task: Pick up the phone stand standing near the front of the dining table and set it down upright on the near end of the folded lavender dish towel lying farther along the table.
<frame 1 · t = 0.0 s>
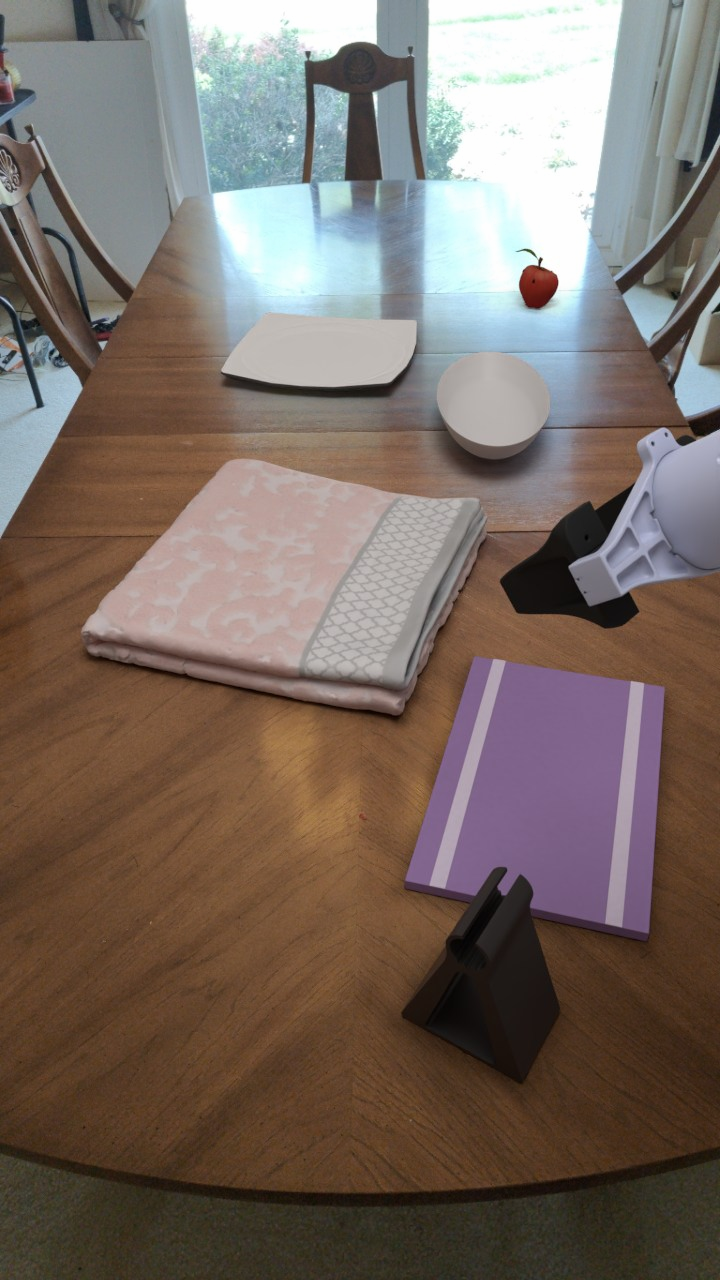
hand: (554, 563, 52), 32 cm above the table, tool tilted 50°, fingers open, 7 cm apart
plate: (324, 362, 157), on the table
apple: (533, 307, 175), on the table
phone stand: (480, 1015, 67), on the table
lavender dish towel: (547, 781, 83), on the table
towel: (301, 591, 107), on the table
bowl: (489, 437, 135), on the table
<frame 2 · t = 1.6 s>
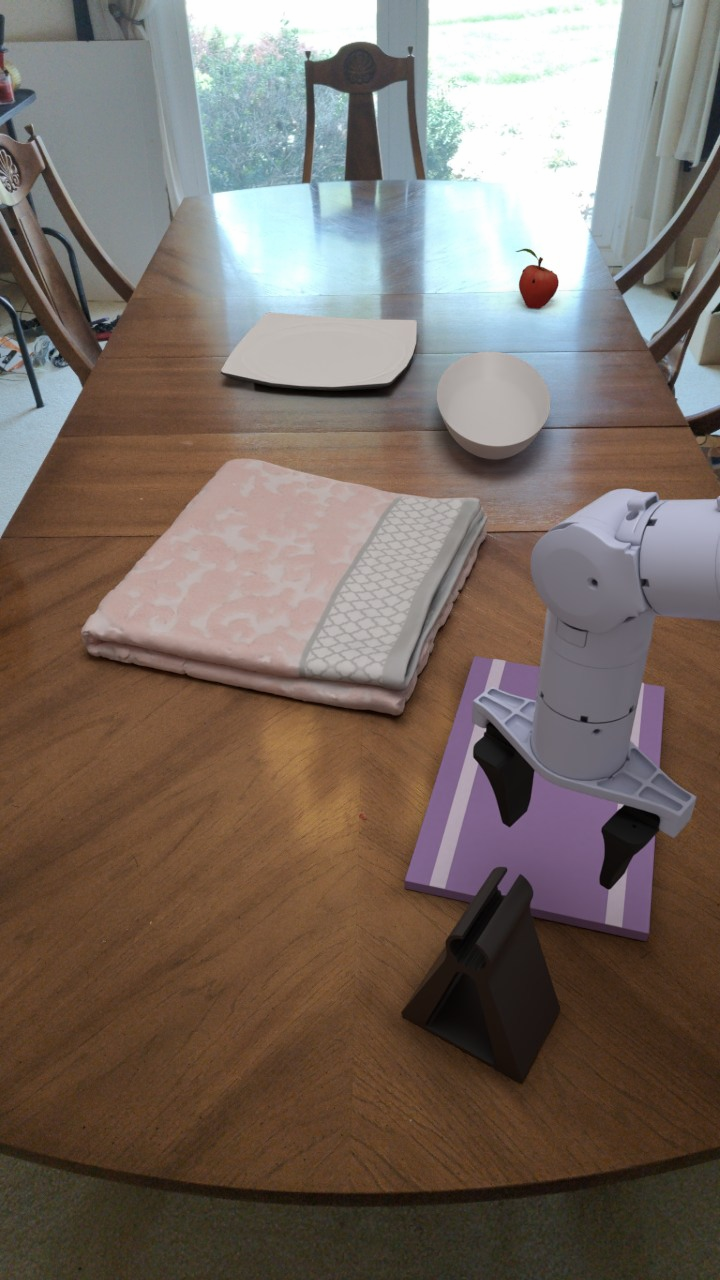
hand: (562, 846, 65), 10 cm above the table, tool pointing down, fingers open, 7 cm apart
nothing on the table moved.
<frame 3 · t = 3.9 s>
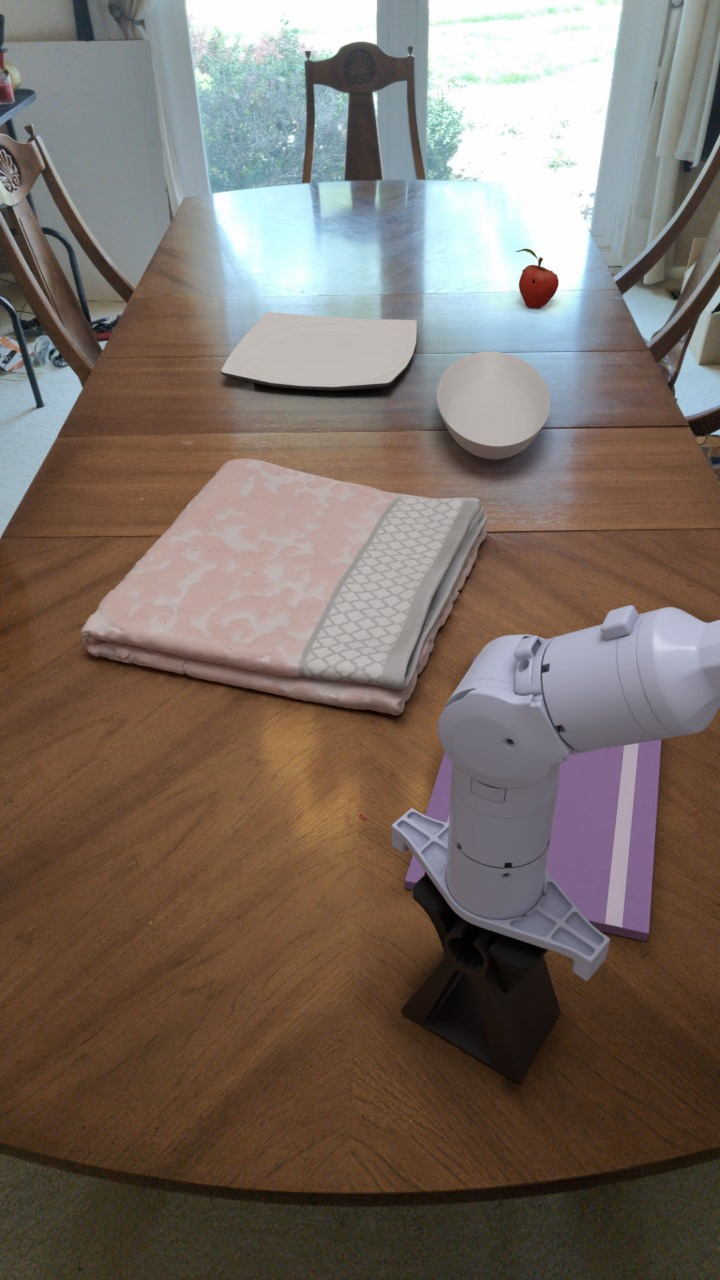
hand: (485, 969, 63), 5 cm above the table, tool pointing down, fingers closed on phone stand, 3 cm apart
phone stand: (479, 1015, 67), on the table, touching gripper
everything else where it was.
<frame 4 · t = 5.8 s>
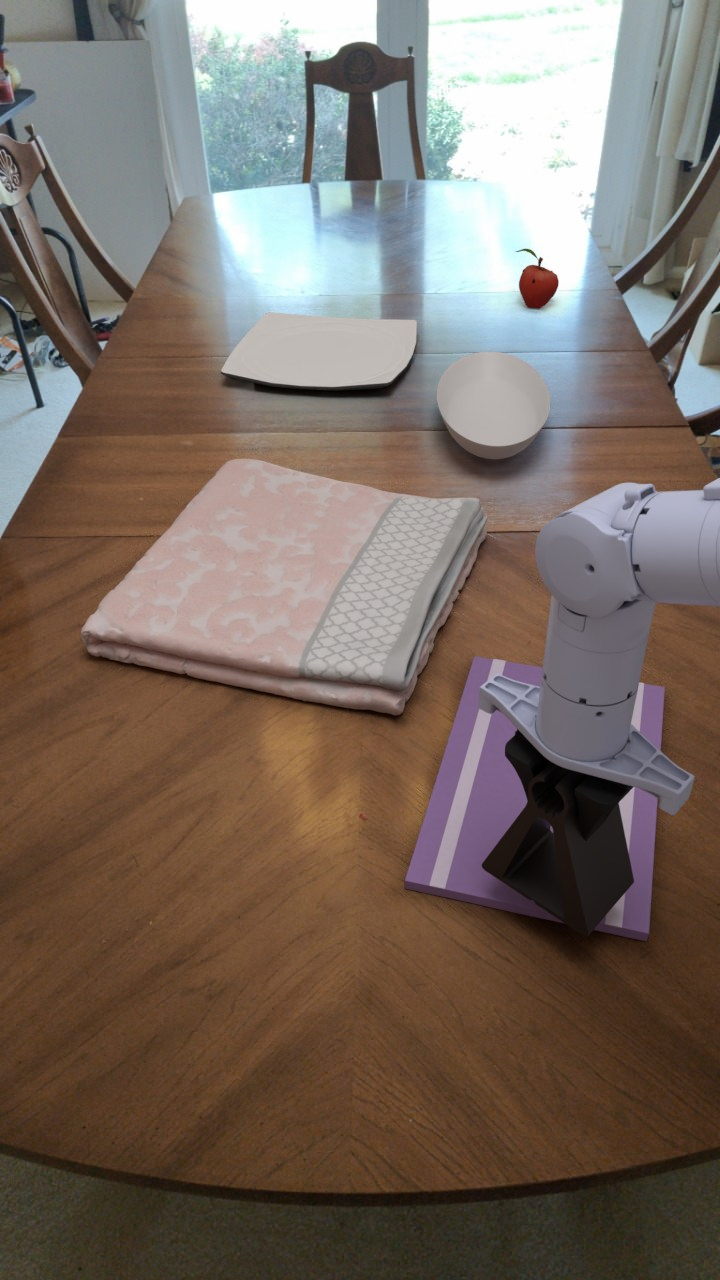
hand: (565, 827, 67), 9 cm above the table, tool pointing down, fingers closed on phone stand, 3 cm apart
phone stand: (556, 878, 71), point 4 cm above the table, touching gripper
everything else where it was.
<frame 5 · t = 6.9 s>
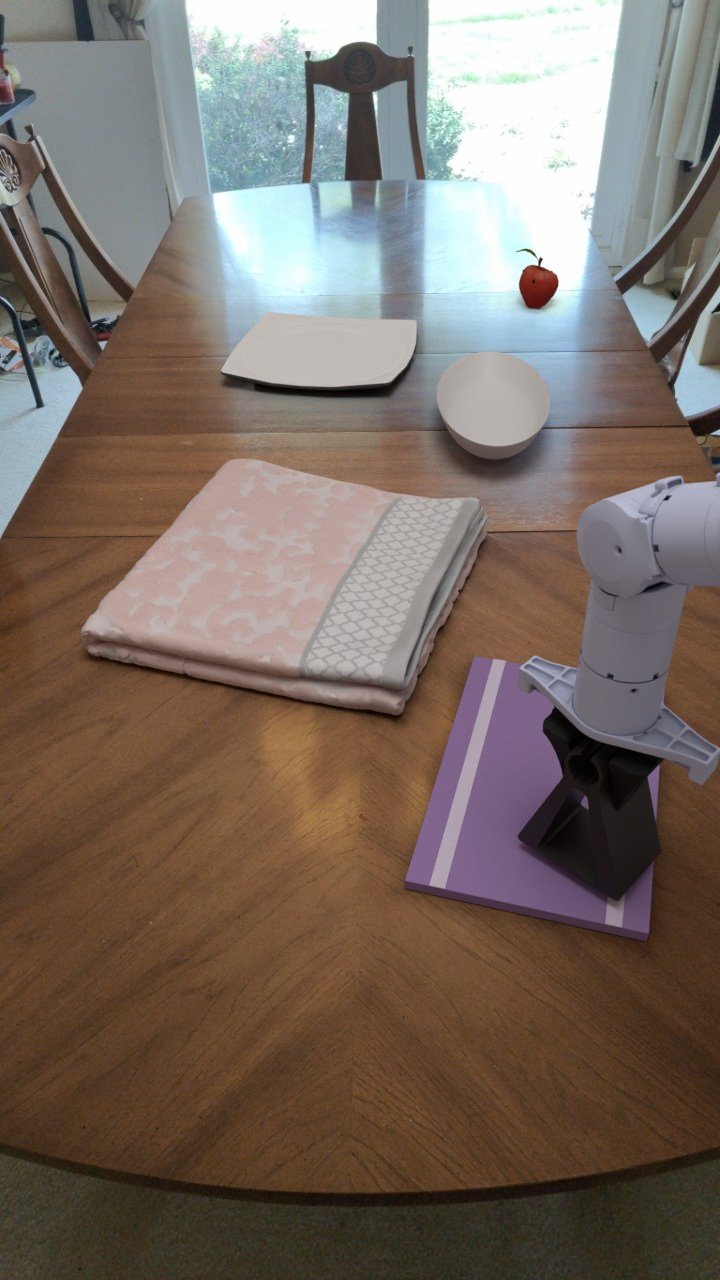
hand: (597, 799, 72), 7 cm above the table, tool pointing down, fingers closed on phone stand, 3 cm apart
phone stand: (587, 848, 75), point 2 cm above the table, touching gripper
everything else where it was.
when the fingers open (6 cm above the table, at t = 7.6 s): phone stand stays where it is, resting on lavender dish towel.
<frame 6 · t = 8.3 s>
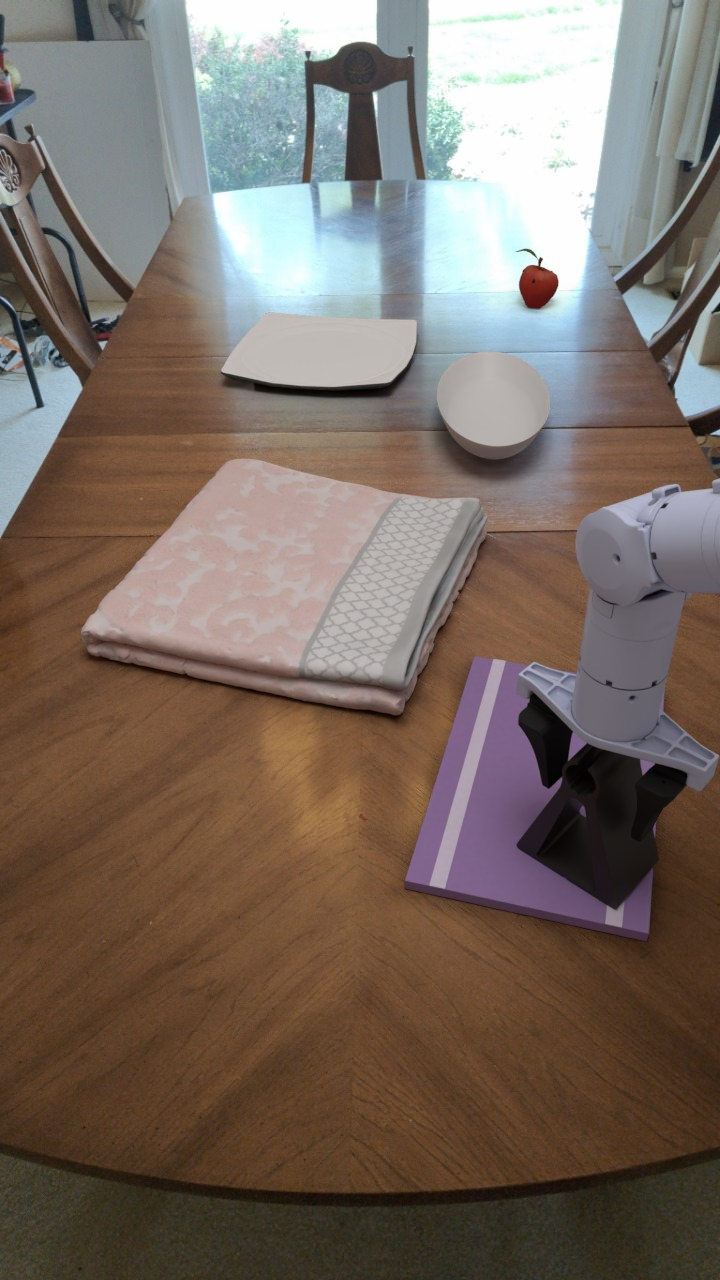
hand: (596, 805, 72), 7 cm above the table, tool pointing down, fingers open, 7 cm apart
phone stand: (586, 856, 76), point 1 cm above the table, touching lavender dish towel
everything else where it was.
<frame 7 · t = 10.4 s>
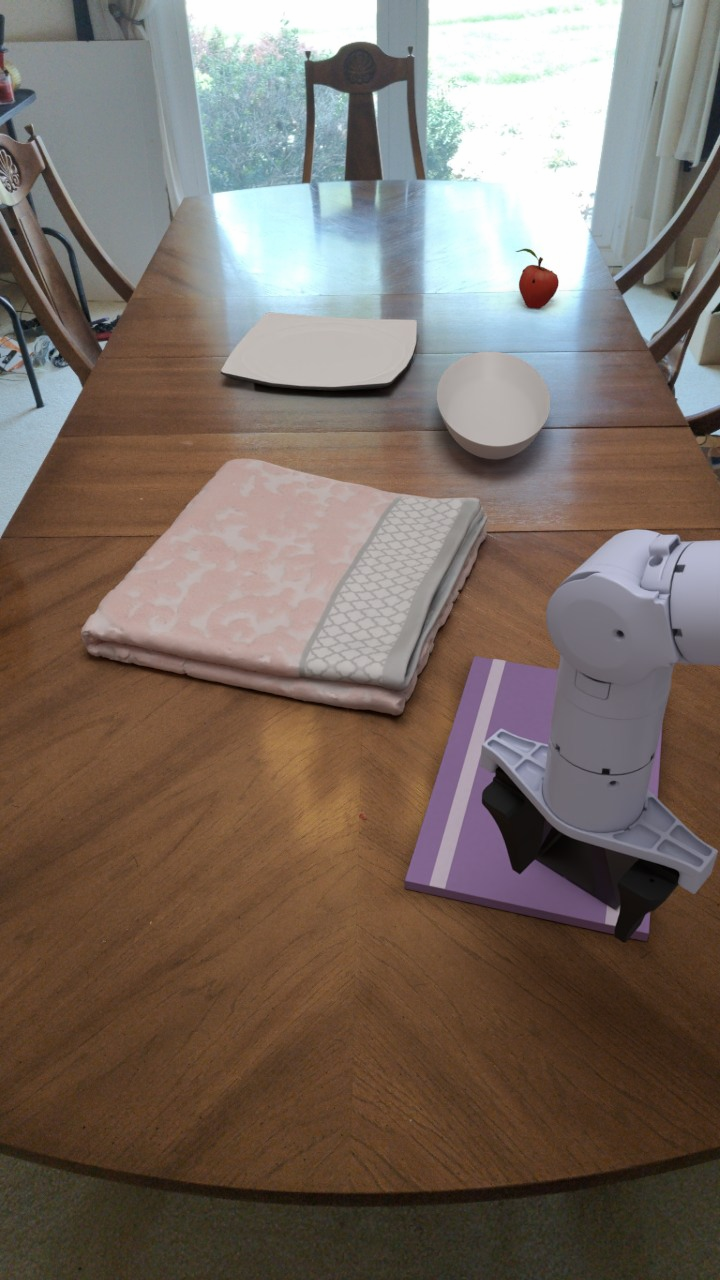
hand: (574, 895, 62), 10 cm above the table, tool pointing down, fingers open, 7 cm apart
nothing on the table moved.
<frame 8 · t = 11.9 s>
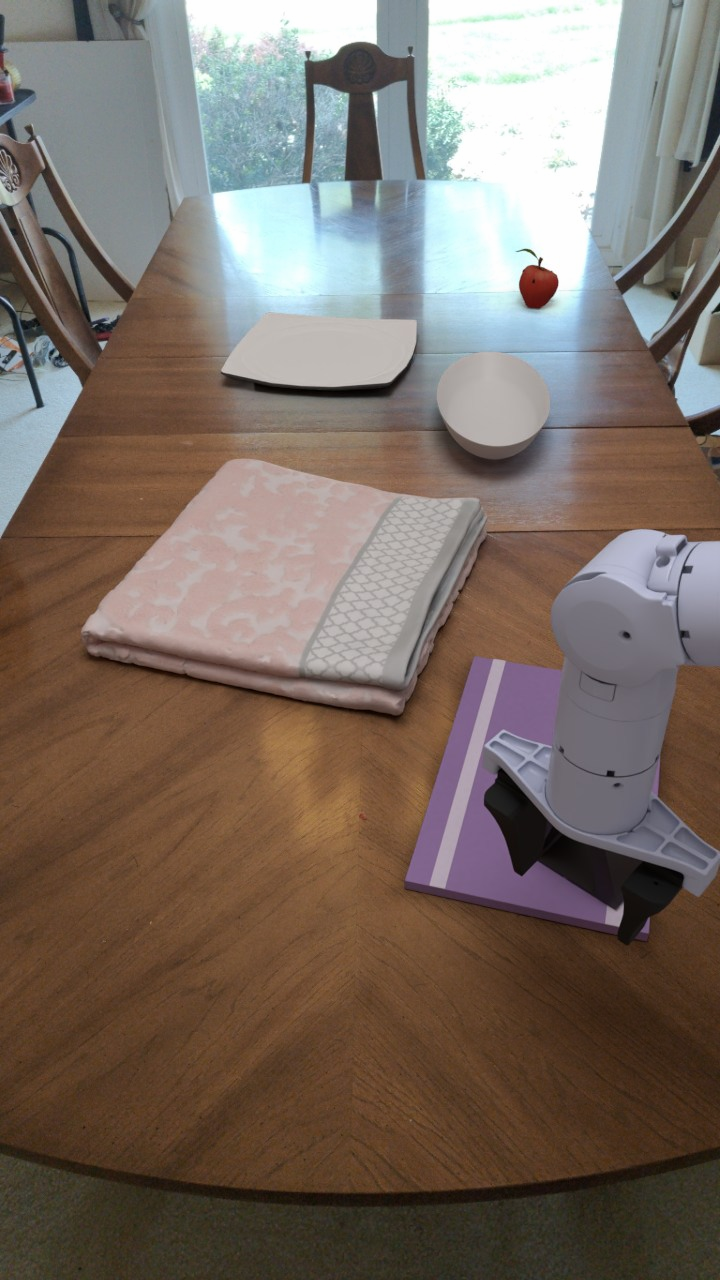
hand: (577, 897, 61), 10 cm above the table, tool pointing down, fingers open, 7 cm apart
nothing on the table moved.
at the end: phone stand 0.1 cm from the target spot on the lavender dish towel, point 0.9 cm above the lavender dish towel's base; phone stand tilted 0°; phone stand touching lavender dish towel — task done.
